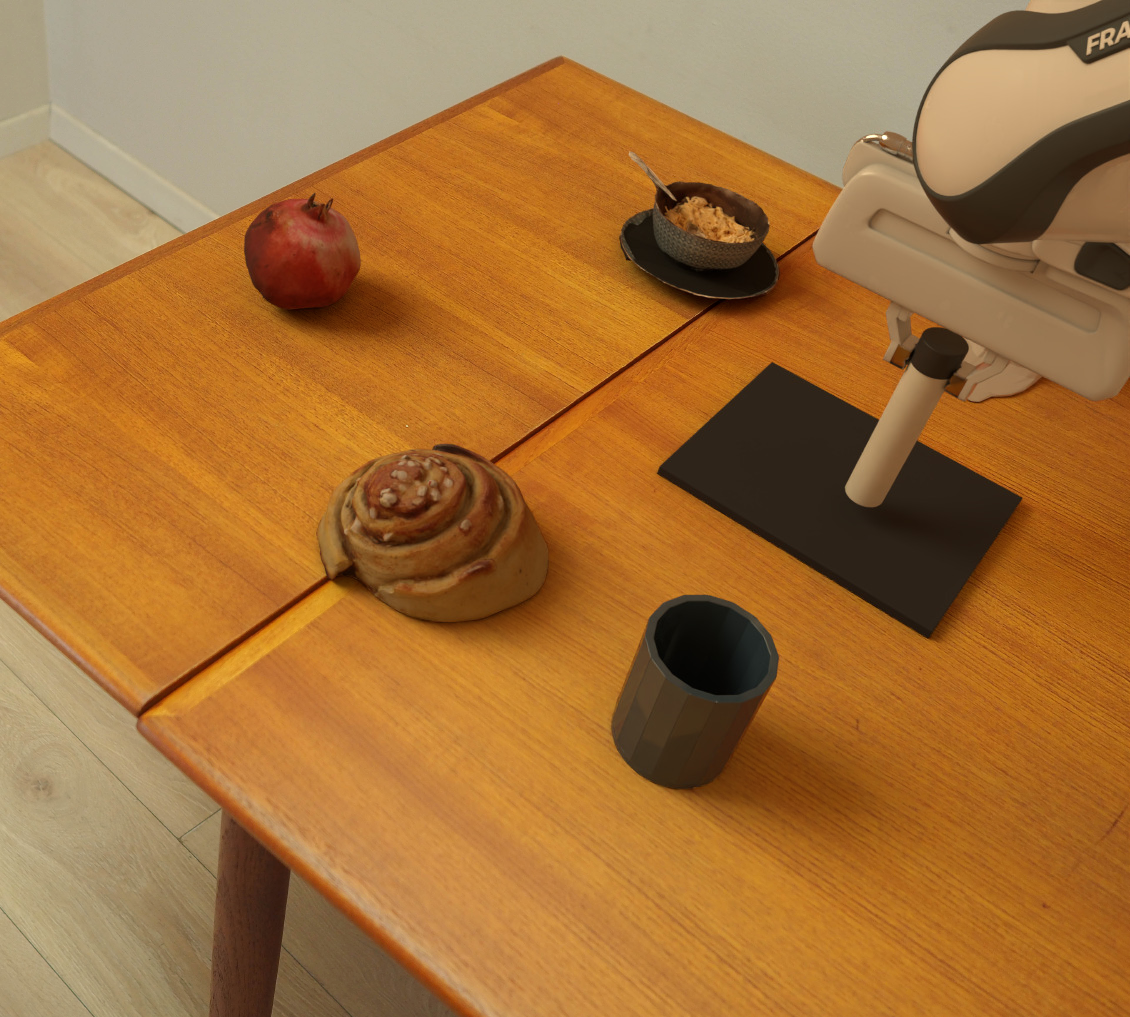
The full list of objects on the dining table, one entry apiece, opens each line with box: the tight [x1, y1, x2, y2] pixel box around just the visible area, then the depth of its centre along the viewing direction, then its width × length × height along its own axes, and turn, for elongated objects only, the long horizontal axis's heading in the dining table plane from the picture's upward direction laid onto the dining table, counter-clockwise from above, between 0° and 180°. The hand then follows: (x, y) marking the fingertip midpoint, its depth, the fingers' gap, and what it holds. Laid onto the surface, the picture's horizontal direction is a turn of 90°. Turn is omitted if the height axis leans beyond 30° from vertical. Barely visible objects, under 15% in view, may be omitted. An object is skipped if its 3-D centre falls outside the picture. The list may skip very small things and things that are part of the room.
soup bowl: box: [618, 150, 781, 300], centre depth 104 cm, size 15×16×7 cm
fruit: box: [243, 192, 362, 310], centre depth 92 cm, size 9×10×10 cm
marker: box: [845, 326, 969, 507], centre depth 79 cm, size 3×3×14 cm
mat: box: [656, 361, 1023, 639], centre depth 87 cm, size 22×18×1 cm
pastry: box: [315, 443, 549, 623], centre depth 75 cm, size 13×15×8 cm
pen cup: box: [610, 594, 780, 790], centre depth 67 cm, size 7×7×9 cm
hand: (927, 377), depth 76 cm, fingers closed on marker, 3 cm apart
